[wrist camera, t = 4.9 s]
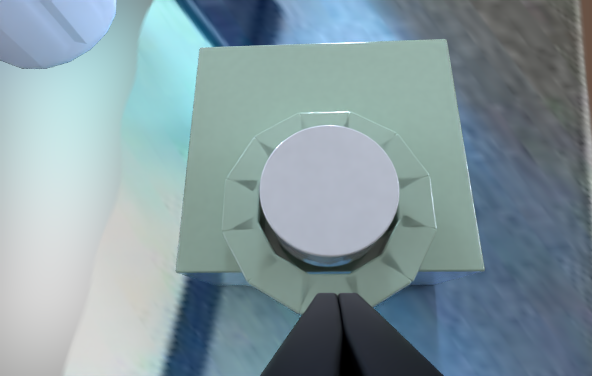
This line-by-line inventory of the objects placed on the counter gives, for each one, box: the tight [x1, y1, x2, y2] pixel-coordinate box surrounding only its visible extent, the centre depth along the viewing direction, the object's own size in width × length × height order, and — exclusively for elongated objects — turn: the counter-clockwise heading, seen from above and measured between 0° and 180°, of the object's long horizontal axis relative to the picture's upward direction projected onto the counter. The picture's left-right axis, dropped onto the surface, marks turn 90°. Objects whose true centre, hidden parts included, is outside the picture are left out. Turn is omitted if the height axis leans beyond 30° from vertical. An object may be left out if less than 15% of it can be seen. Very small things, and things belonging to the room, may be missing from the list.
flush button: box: [259, 125, 400, 267], centre depth 11 cm, size 4×4×2 cm
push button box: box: [176, 39, 485, 315], centre depth 16 cm, size 12×11×8 cm
